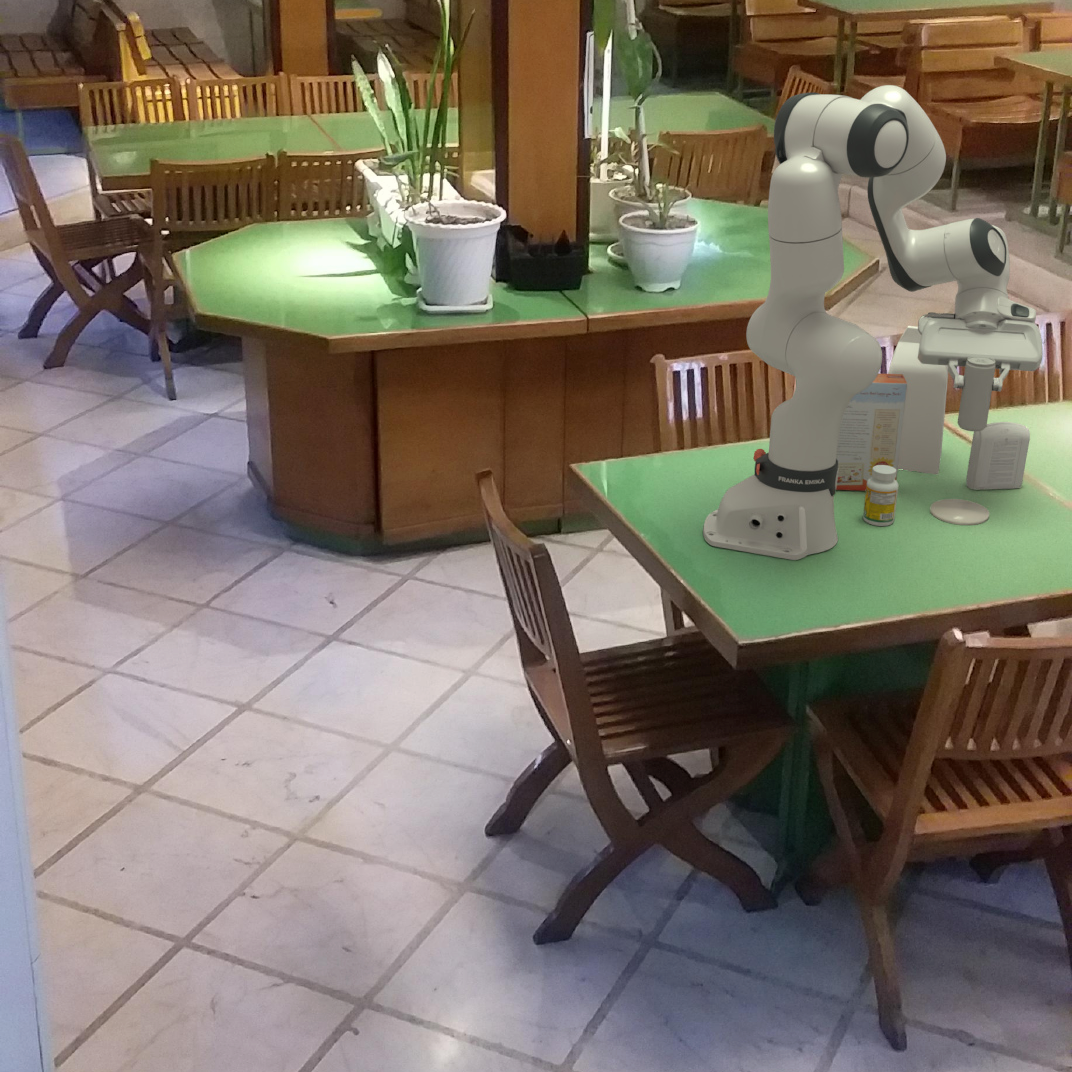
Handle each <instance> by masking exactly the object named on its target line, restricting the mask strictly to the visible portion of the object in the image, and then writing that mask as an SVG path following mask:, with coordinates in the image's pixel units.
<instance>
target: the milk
mask: <svg viewBox="0 0 1072 1072" xmlns="http://www.w3.org/2000/svg"><path fill="white" fill-rule="evenodd" d="M902 333H903V334H902V335H901V336H900V337H899V340H898V342H897V343H896V344H897V345H896V347H895V349H894V351H893V353H892V357H891V362H890V365H889V369H888V372H887V374H903V376H904V378H905V380H906V382H907V391H906V399H905V409H904V418H903V426H902V435H901V444H900V453H899V462H898V469H903V470H908V471H907V472H912V471H917V472H916V473H920V472H922V474H929V473H930V475H939V474H940V473H939V472H940V466H941V460H940V459H941V458H942V451H943V438H944V437H943V436H944V426H945V417H946V406H947V405H946V403H947V391H948V390H947V389H948V382H949V381H948V380H949V372H948V366H947V365H932V364H922V363H921V362H920V361H919V360H918V349H919V344H920V339H921V334H920V333H919V331H918V326H913V325H907V327H906V328H905V330H904V331H903V332H902ZM903 470H902V471H903Z"/></svg>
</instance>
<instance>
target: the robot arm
mask: <svg viewBox="0 0 1072 1072" xmlns="http://www.w3.org/2000/svg"><path fill="white" fill-rule="evenodd" d="M774 120H775V121H774V125H773V126H774V127H773V141H774V142H773V144H774V146H775V148H774V151H775V156H776V158H777V161H778V163H779V164H778V166H777V167H775V169H774V170H773V172H772V174H771V178H770V184H769V192H768V205H767V224H768V239H769V241H768V243H769V256H770V257H769V258H770V283H769V288H768V293H767V297H766V298H765V301H764V302H763V303H762V304H761V305H759V306H758V307H757V309H755V310H754V312H753V313H752V315H751V317H750V318H749V320H748V323H747V327H746V334H745V336H746V342H747V346H748V348H749V349H750V351H751V352H752V353H753V354H755V355H756V356H757V357H758V358H760V359H761V360H762V361H763V362H764V363H766V364H767V365H768V366H770V367H771V368H775V369H777V370H779V371H781V372H784V373H787V374H789V375H791V376H792V377H794V378H795V382H796V383H795V389H794V392H793V395H792V397H791V398H789V399H787V400H785V401H784V402H782V403H780V404H779V405H777V407H775V409H774V410H773V411H772V414H771V418H770V419H771V420H770V428H769V429H770V430H769V431H770V433H769V444H768V452H767V453H766V451H765V449H763V448H757V449H756V450H755V451H754V453H753V461H754V462H755V464H754V474H752V475H750V476H749V477H747V478H745V479H744V480H741V481H740V482H738V483H736V484H733V486H731V487H729V488H728V489H727V490H726V491H725V493H723V496H722V498H721V500H720V502H719V505H718V509H716V510H713V511H712V512H710V513H709V514H708V515H707V516H706V518H705V520H704V522H703V523H704V524H703V529H702V536H703V538H704V540H705V541H706V542H707V543H708V544H709V545H710V546H713V547H716V548H723V549H728V550H734V551H738V552H739V551H740V552H746V553H751V554H757V555H761V556H767V557H774V558H780V559H784V560H790V561H796V560H801V559H803V558H805V557H807V556H809V555H813V554H818V553H821V552H826V551H828V550H831V549H832V548H833V547H835V546H836V545H837V543H838V541H839V537H838V531H837V528H836V526H837V525H836V519H835V505H834V503H835V502H834V500H835V494H836V491H837V490H836V488H837V480H838V469H839V468H838V460H837V459H836V455H837V447H838V439H839V432H840V426H841V421H842V417H843V414H844V412H845V409H846V407H847V405H848V404H849V402H850V401H851V399H852V398H853V397H854V396H855V395H856V394H857V393H859V392H861V391H863V390H865V389H866V388H867V387H868V386H870V385H871V384H872V382H873V381H874V380H875V378H876V377H877V375H878V374H880V371H881V366H882V362H883V352H882V347H881V344H880V343H879V340H877V339H876V338H875V337H874V336H873V335H871V334H870V333H869V332H868V331H867V330H864V328H862V327H860V326H859V325H858V324H856V323H853V322H850V321H848V320H845V319H841V318H839V317H837V316H834V315H831V314H829V313H828V312H827V310H826V308H825V296H826V293H827V292H828V291H830V290H832V289H834V287H835V286H836V285H838V284H839V282H841V279H842V278H843V275H844V272H845V264H844V263H845V262H844V260H845V259H844V243H843V242H844V240H843V239H844V238H843V221H842V220H843V219H842V211H841V203H840V197H839V188H840V187H839V186H840V183H841V180H842V178H843V175H847V176H848V175H849V176H858V177H861V178H867V179H868V181H867V201H868V205H869V209H870V211H871V215H872V219H873V221H874V224H875V227H876V229H877V233H878V235H879V238H880V240H881V243H882V246H883V248H884V252H885V255H886V260H887V265H888V269H889V272H890V276H891V278H892V280H893V282H894V283H895V284H897V285H898V287H900V288H903V289H904V290H906V291H908V292H912V293H913V292H916V291H919V290H920V291H921V290H923V289H927V288H931V287H932V286H937V285H942V284H946V283H951V282H956V284H957V291H956V295H955V301H954V313H951V312H950V313H948V312H945V313H944V312H943V313H937V312H927V314H923V315H922V316H920V318H919V319H918V322H917V327H918V331H919V333H920V334H921V339H920V344H919V349H918V360H919V361H920V362H921V363H922V364H932V365H947V366H948V375H950V376H951V379H953V389H960V390H962V389H963V386H964V375H961V374H959V372H958V370H957V368H958V367H962V368H963V367H964V368H965V366H966V362H967V359H968V358H969V357H972V358H986V359H989V358H992V359H994V360H995V365H996V366H995V370H999V373H998V374H999V376H998V377H994V380H993V386H992V392H1001V391H1002V389H1003V382H1004V380H1005V379H1006V378H1007V376H1008V375H1009V373H1010V371H1020V372H1021V371H1025V372H1035V371H1036V370H1037V369H1038V368H1039V367H1040V366H1041V364H1042V361H1043V356H1044V355H1043V339H1042V334H1041V331H1040V328H1039V326H1038V325H1037V324H1036V318H1037V311H1036V309H1035V308H1033V307H1031V306H1027V305H1025V304H1022V303H1019V302H1017V301H1013V300H1012V299H1009V298H1010V297H1009V294H1008V290H1007V289H1008V284H1009V281H1010V275H1011V273H1010V271H1011V266H1010V265H1011V264H1010V263H1011V262H1010V250H1009V243H1008V239H1007V235H1006V233H1005V232H1004V231H1003V229H1001V228H1000V227H998V226H996V225H993V224H990V223H989V222H988V221H986V220H984V219H982V218H980V217H976V218H968V219H963V220H959V221H954V222H950V223H948V224H944V225H943V224H942V225H939V226H934V227H929V228H926V229H911V228H909V226H908V225H907V224H908V223H907V222H906V219H905V215H904V212H903V209H904V208H906V207H907V206H909V204H911V203H914V202H915V201H917V200H919V199H921V198H923V197H924V196H925V195H927V194H928V193H929V192H930V191H931V190H933V188H934V187H935V186H936V185H937V183H938V182H939V180H941V179H940V178H941V177H942V175H943V173H944V171H945V166H946V160H947V155H946V154H947V153H946V149H945V146H944V143H943V140H942V139H941V135H939V132H938V131H937V129H936V127H935V125H934V123H933V122H932V121H931V119H930V117H929V115H927V113H926V112H925V110H924V109H923V108H922V107H921V106H920V104H919V102H917V100H916V99H914V98H913V97H912V96H911V94H909V92H908V91H907V90H905V89H904V88H902V87H900V86H897V85H893V84H886V85H881V86H877V87H875V88H873V89H871V90H869V91H868V92H867V93H865V94H864V96H862V97H861V98H860V99H859V98H858V99H857V98H853V97H852V96H848V95H841V94H831V93H830V94H821V93H818V92H804V93H798V94H795V95H793V96H790V97H789V98H788V99H786V100H785V101H784V103H783V104H782V105H781V107H780V108H779V111H778V112H777V114H776V118H775V119H774Z"/></svg>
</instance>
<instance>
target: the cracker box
mask: <svg viewBox="0 0 1072 1072" xmlns="http://www.w3.org/2000/svg"><path fill="white" fill-rule="evenodd" d="M906 391H907V382H906V380H905V378H904V376H903V374H888V373H878V375H877V377H876V378H875V380H874V381H873V382H872V384H871V385H870V386H868V387H867V388H866V389H865V390H863V391H861V392H859V393H857V394H856V395H855V396H854V397H853V398H852V399H851V401H850V402H849V404H848V405H847V407H846V409H845V412H844V414H843V417H842V421H841V426H840V432H839V439H838V447H837V455H836V459H837V460H838V468H839V469H838V480H837V488H836V491H862V492H866V485H867V481H868V480H869V479H870V478H871V477H872V468H873V467H874V466H876V465H887V466H891V467H893V468H895V469H896V477H895V480H896V481H897V478H898V471H899V470H898V462H899V453H900V444H901V435H902V426H903V418H904V409H905V399H906Z"/></svg>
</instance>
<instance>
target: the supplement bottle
mask: <svg viewBox="0 0 1072 1072" xmlns="http://www.w3.org/2000/svg"><path fill="white" fill-rule="evenodd" d="M895 477H896V469H895V468H893V467H891V466H887V465H876V466H874V467H873V468H872V477H871V478H870V479H869V480H868V481H867V485H866V491H865V494H864V495H865V496H864V506H863V513H862V518H863V519H862V520H863V521H864V522H865V523H867V524H869V525H872V526H876V527H885V526H886V527H887V526H890V525H892V524H893V523H894V521H895V518H896V517H895V515H896V510H897V509H896V508H897V501H898V494H899V493H898V492H899V483H898V481H897V480H895Z"/></svg>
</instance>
